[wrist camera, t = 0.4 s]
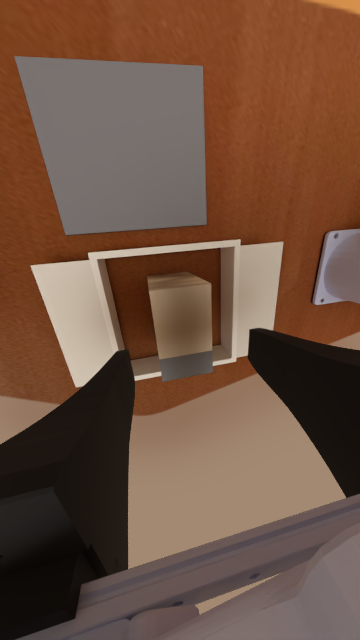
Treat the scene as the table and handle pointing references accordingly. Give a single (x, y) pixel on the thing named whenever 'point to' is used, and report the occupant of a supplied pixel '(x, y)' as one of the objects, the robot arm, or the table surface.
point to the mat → (120, 141)
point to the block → (182, 324)
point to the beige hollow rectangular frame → (101, 317)
